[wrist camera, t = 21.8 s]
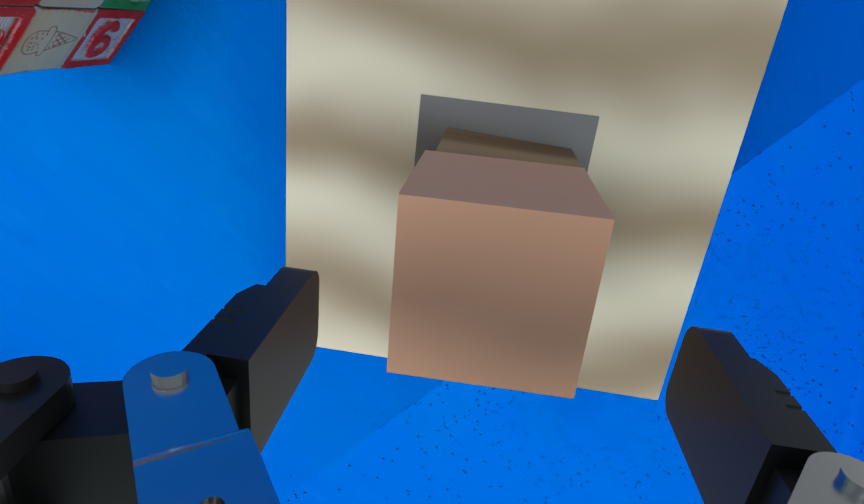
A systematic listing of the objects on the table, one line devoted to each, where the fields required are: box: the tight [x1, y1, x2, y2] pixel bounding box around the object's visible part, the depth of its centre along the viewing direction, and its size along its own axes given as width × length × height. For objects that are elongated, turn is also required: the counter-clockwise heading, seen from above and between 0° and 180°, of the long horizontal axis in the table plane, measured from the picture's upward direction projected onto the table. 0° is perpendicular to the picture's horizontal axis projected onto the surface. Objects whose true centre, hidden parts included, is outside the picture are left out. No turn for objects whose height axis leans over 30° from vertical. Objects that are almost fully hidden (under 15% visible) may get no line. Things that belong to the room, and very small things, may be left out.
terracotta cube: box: [387, 150, 615, 399], centre depth 16 cm, size 5×5×5 cm
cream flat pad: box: [286, 0, 788, 400], centre depth 23 cm, size 18×18×1 cm
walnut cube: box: [436, 127, 582, 168], centre depth 21 cm, size 5×5×5 cm
